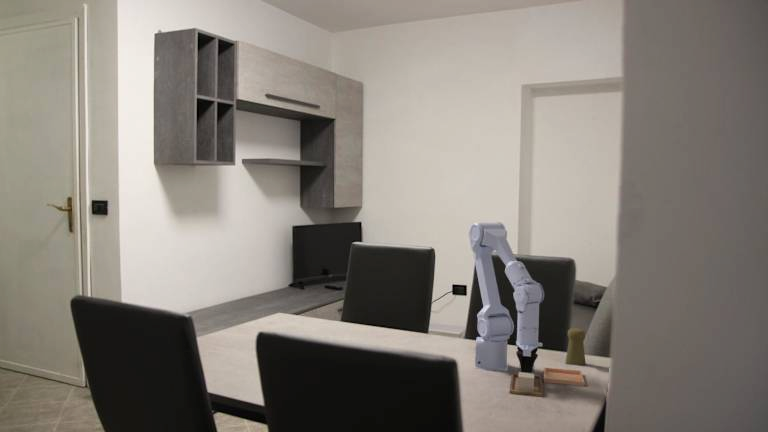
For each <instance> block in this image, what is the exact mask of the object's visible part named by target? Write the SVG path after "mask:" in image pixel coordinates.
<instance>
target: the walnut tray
mask: <svg viewBox="0 0 768 432" xmlns="http://www.w3.org/2000/svg"><path fill="white" fill-rule="evenodd" d="M518 375H519V373H516V372H515V373H514V372H512V373H511V377H510V385H509V394H511V395H512V394H513V395H521V396H529V397H530V396H531V397H542V398H543V377H542V375H538V374H537V375H536V374H534V392H526V391H518Z"/></svg>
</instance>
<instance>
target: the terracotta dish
mask: <svg viewBox="0 0 768 432" xmlns="http://www.w3.org/2000/svg"><path fill="white" fill-rule="evenodd" d="M542 369H543V383H551V384H562V385H571V386H579V387H585V379H584V375H583V372H582V370H579V369H578V370H577V369H567V368H566V369H565V368H556V367H555V368H554V367H544V366H543V368H542Z"/></svg>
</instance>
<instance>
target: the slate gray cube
mask: <svg viewBox="0 0 768 432" xmlns="http://www.w3.org/2000/svg"><path fill="white" fill-rule="evenodd" d="M518 369H519V370H518V373H519V372H521V366H520V364H519V365H518ZM532 373H534V374H535V364H534V365H533V369H532Z"/></svg>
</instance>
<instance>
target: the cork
mask: <svg viewBox="0 0 768 432" xmlns="http://www.w3.org/2000/svg"><path fill="white" fill-rule="evenodd" d="M567 338H568V347H567V351H566V357H565V365H568V366H569V365H570V366H578V367H579V366H580V367H582V366H583V367H586V365H587V364H586V356H585V355H586V354H585V347H584V346H585V344H584V340H585V339H586V332H585V331H584V330H583V329H582V328H578V327H577V328H576V327H574V328H573V327H572V328H569V329H568V330H567Z"/></svg>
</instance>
